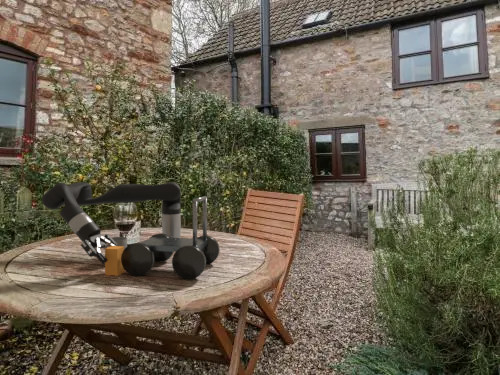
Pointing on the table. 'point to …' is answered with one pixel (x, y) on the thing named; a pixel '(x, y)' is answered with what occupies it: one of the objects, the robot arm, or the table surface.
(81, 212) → the robot arm
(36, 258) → the table surface
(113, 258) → the orange rectangular block
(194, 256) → the trolley
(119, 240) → the cup
